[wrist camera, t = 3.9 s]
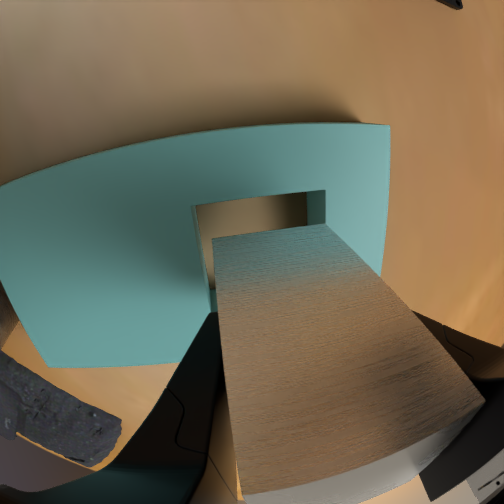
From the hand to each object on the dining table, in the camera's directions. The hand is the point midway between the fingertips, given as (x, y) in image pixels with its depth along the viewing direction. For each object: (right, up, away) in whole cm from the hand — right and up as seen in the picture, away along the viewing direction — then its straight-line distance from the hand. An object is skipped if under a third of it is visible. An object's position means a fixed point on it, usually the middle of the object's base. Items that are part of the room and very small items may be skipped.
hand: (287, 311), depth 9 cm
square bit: (0, +1, +2) cm, 2 cm away
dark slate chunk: (-25, -13, +10) cm, 29 cm away
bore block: (-5, +2, +5) cm, 8 cm away
